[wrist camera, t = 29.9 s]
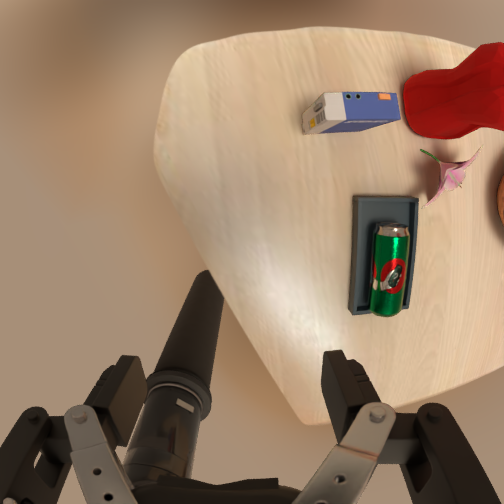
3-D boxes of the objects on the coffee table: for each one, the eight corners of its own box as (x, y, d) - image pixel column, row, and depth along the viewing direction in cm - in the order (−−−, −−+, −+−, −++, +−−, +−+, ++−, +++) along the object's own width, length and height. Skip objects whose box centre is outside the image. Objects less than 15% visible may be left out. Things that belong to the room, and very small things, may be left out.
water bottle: (460, 143, 36) (592, 145, 12) (403, 136, 36) (546, 122, 12) (454, 86, 34) (576, 57, 9) (396, 74, 34) (520, 14, 9)
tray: (402, 303, 42) (408, 308, 40) (348, 309, 42) (352, 315, 40) (411, 196, 38) (418, 198, 36) (352, 195, 38) (358, 197, 36)
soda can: (407, 310, 38) (417, 225, 35) (388, 322, 36) (398, 230, 33) (379, 300, 43) (386, 220, 39) (359, 310, 40) (365, 224, 37)
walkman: (357, 111, 35) (397, 91, 24) (360, 131, 36) (402, 119, 24) (299, 114, 35) (321, 90, 24) (302, 134, 36) (326, 120, 25)
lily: (388, 201, 39) (438, 237, 32) (399, 120, 32) (460, 146, 25) (436, 187, 42) (480, 216, 35) (448, 119, 35) (499, 143, 28)
